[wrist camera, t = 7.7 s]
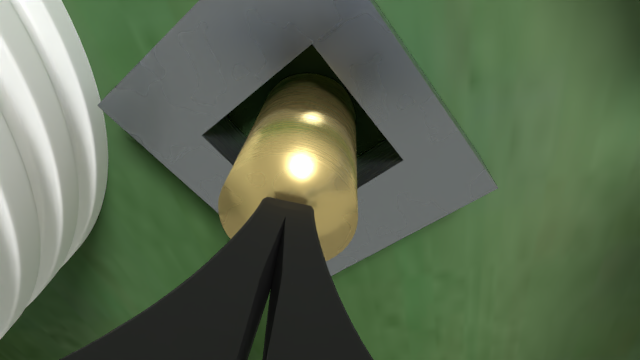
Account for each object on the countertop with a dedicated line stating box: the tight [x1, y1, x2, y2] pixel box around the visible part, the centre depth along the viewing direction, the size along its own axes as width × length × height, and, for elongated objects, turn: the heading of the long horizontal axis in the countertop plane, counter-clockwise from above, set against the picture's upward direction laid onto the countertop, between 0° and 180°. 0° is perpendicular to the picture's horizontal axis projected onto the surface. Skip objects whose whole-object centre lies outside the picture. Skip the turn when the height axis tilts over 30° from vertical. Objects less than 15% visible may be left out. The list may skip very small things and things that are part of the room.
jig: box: [97, 0, 498, 276], centre depth 16 cm, size 12×10×2 cm
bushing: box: [218, 73, 358, 261], centre depth 14 cm, size 4×4×7 cm
